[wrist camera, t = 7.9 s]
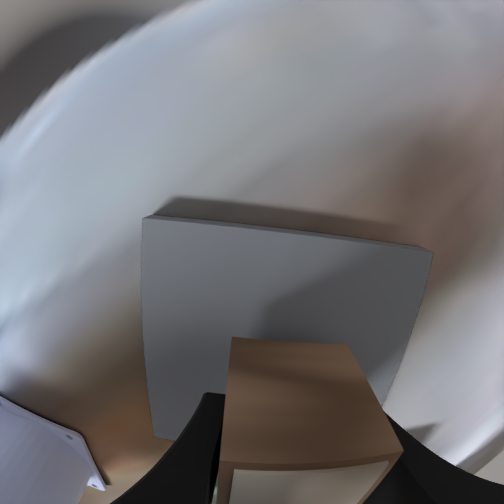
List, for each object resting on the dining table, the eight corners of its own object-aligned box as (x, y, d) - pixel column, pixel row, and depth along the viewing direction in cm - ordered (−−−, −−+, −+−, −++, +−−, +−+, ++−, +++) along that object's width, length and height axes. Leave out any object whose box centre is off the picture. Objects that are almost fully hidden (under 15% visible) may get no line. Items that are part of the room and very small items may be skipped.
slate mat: (158, 424, 13) (154, 437, 12) (151, 214, 11) (142, 218, 10) (355, 434, 13) (360, 446, 12) (421, 247, 11) (433, 253, 10)
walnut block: (222, 432, 11) (214, 535, 6) (231, 336, 9) (218, 464, 4) (315, 436, 11) (336, 532, 6) (347, 343, 9) (405, 453, 5)
